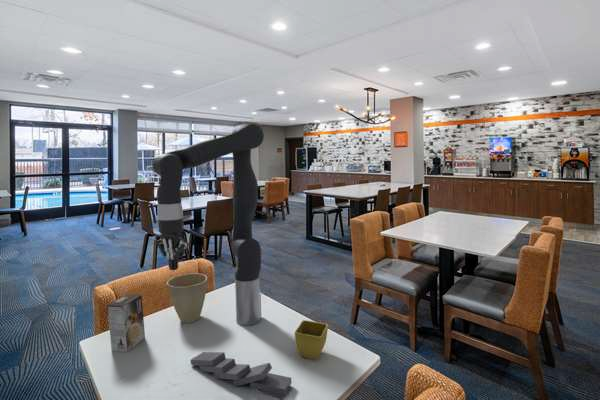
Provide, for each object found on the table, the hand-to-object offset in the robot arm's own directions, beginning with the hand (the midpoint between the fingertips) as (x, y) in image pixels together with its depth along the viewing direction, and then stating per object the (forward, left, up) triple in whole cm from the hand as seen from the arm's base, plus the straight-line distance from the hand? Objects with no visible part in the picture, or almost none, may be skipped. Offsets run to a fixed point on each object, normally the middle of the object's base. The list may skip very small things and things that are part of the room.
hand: (173, 269), depth 109 cm
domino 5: (+4, +34, -26) cm, 42 cm away
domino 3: (+4, +22, -26) cm, 35 cm away
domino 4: (+5, +29, -26) cm, 39 cm away
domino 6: (+4, +34, -27) cm, 44 cm away
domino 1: (+3, +12, -26) cm, 29 cm away
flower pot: (-16, +42, -27) cm, 53 cm away
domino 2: (+4, +16, -26) cm, 31 cm away
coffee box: (+6, -17, -27) cm, 33 cm away
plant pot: (-17, -12, -27) cm, 34 cm away
